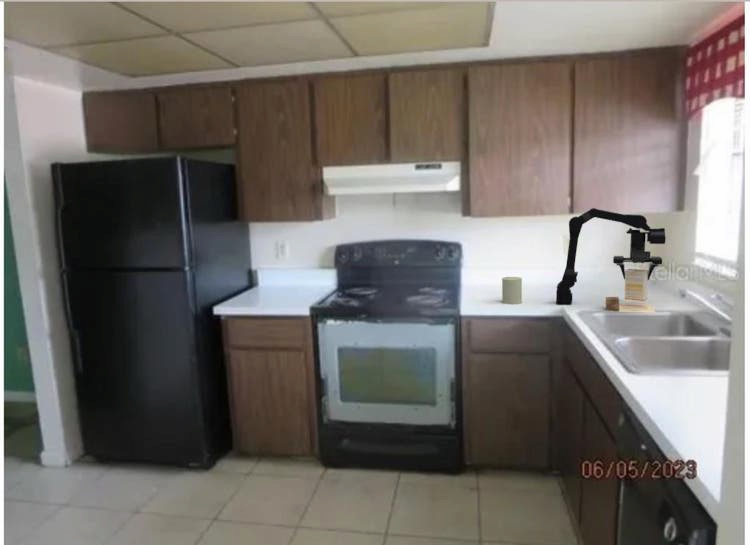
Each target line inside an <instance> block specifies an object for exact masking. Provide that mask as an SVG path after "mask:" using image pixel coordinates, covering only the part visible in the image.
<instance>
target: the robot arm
mask: <svg viewBox="0 0 750 545" xmlns="http://www.w3.org/2000/svg"><path fill="white" fill-rule="evenodd" d="M594 218H597V219H601V220H607V221H611V222H618V223H622V224H624V225H627V226H629V227H630V228H628V230H626V231H625V233H626V234H628V235H629V234H630V245H629V247H630V248H629V257H624V256H623V255H614V256H613V258H612V263H613V264H616V266H618V267H619V268H620V270H621V274H622V278H623V280H625V271H626V269H625V264H624V263H633V264H637V263H638V264H639V263H640V264H645V263H649V266H648V269H647V270H648V281H649V280H650V278H651V276H652V273H653V271H654V270H655V268H656V267H659V265H663V258H662V257H661V256H658V255H657V256H656V255H655V256H653V255H651V251H649V250H648V251H647V250H646V242H648V243H649V244H650V245H665V244H666V229H665V227H659V228H651V226H649V225H648V221H647V218H646V216H644V215H642V214H631V213H629V214H627V213H626V214H625V213H620V212H614V211H609V210H604V209H599V208H596V207H592V208H590V209H589V210H587V211H585V212H584V213H582V214H580V215H579V216H577V215H576V216H572V217H571V218H570V219H569V221H568V231H569V240H568V241H569V242H568V251H567V257H566V258H567V259H566V265H565V269H564V272H563V276H562V279H561V281H559V282H558V283H557V286H556V296H555V297H556V301H555V304H556V305H568V306H570V305H572V303H573V293H572V288H574V286H575V284H576V283H578V279H577V277H578V273H579V272H578V271H576V270H575V268H576V267H575V266H576V265H575V264H576V257H577V249H578V243H579V242H578V241H579V236H580V234H581V231H582V228H583V225H584V224H586V223H587V222H589V221H590V220H593V219H594ZM631 227H632V228H631ZM633 228H635V229H633ZM640 229H642V230H643V231H641V230H640Z"/></svg>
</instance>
